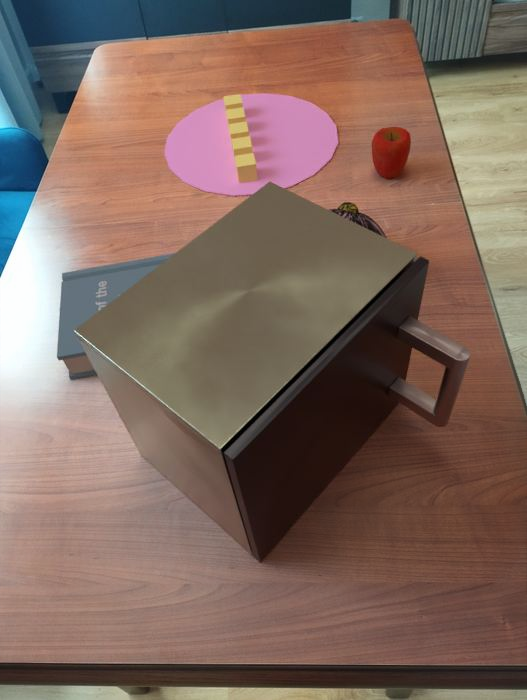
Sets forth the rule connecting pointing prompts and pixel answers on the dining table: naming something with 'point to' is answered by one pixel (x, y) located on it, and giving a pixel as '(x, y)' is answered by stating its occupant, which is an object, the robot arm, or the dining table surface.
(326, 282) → the storage compartment
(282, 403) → the compartment door
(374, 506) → the dining table surface
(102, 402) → the dining table surface
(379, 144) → the apple
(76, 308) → the book
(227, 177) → the platter
